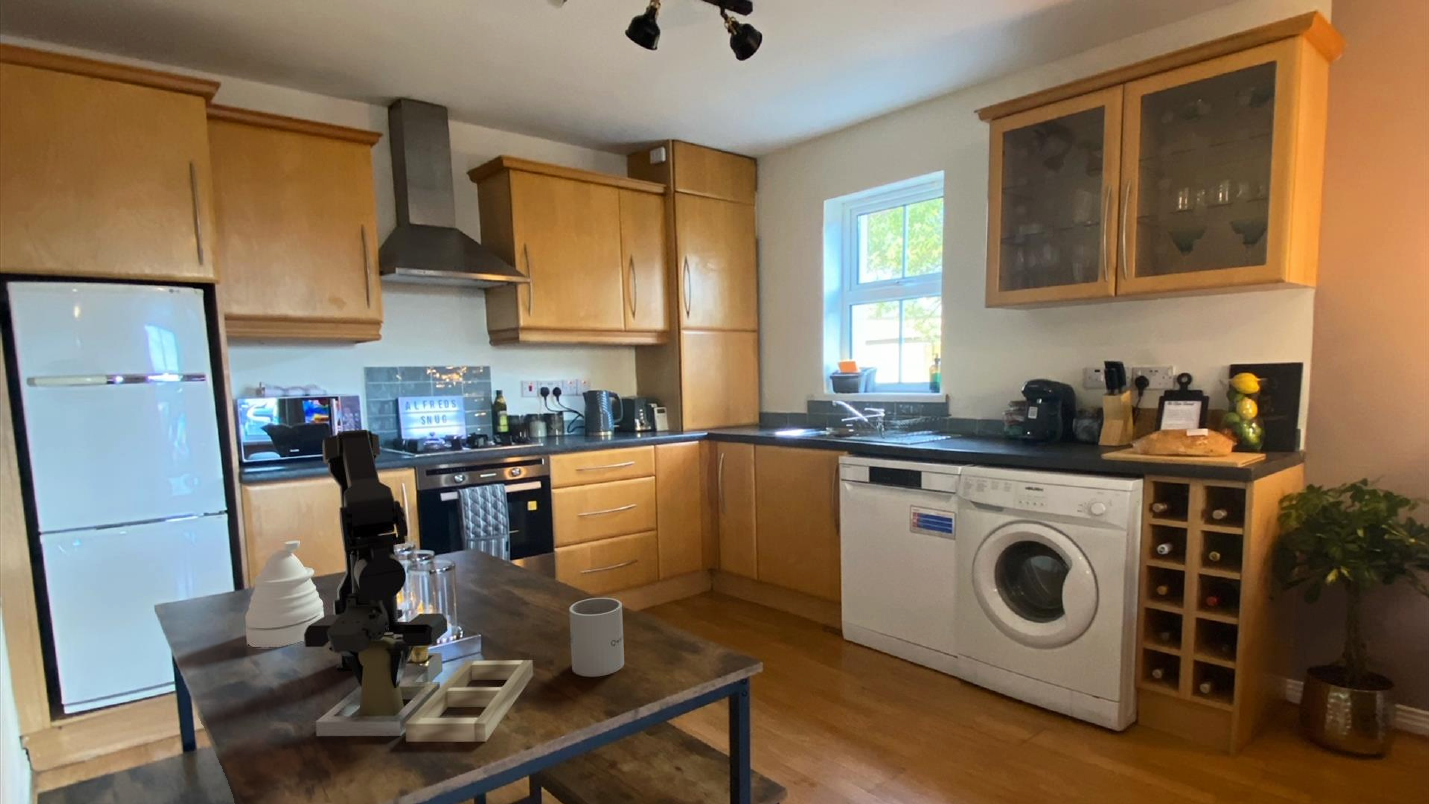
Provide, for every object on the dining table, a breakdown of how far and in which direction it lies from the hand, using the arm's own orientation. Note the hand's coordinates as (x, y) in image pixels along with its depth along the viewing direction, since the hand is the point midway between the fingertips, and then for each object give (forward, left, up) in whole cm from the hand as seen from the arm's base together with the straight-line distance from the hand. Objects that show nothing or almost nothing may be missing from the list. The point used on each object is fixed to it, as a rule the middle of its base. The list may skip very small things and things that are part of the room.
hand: (380, 687), depth 102 cm
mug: (+29, +18, -4) cm, 34 cm away
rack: (+13, +2, -4) cm, 14 cm away
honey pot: (-36, +31, -4) cm, 48 cm away
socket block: (0, +4, -4) cm, 6 cm away
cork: (0, 0, -4) cm, 4 cm away
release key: (0, +12, -4) cm, 12 cm away
